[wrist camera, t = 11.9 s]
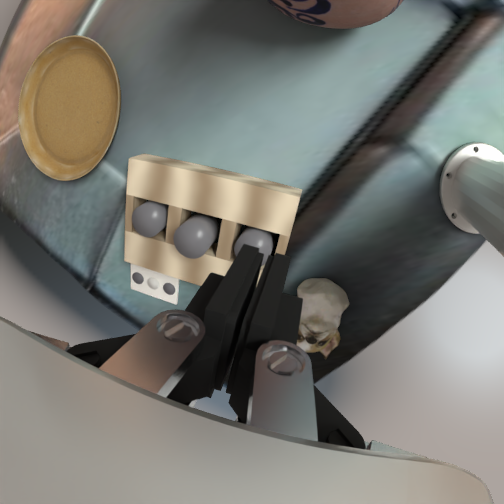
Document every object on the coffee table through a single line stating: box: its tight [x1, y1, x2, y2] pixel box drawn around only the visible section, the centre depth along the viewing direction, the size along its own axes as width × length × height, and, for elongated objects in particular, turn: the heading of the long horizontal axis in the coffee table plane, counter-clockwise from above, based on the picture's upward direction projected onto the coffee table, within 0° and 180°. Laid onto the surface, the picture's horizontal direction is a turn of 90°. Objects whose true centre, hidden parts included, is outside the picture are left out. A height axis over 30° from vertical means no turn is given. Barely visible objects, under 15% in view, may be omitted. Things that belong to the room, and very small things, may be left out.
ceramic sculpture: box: [297, 278, 349, 359], centre depth 44 cm, size 11×9×15 cm
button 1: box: [132, 200, 169, 237], centre depth 44 cm, size 5×5×5 cm
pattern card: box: [131, 263, 180, 305], centre depth 52 cm, size 9×6×1 cm, turn 79°
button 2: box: [234, 225, 276, 266], centre depth 42 cm, size 5×5×5 cm
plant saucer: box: [18, 35, 121, 181], centre depth 41 cm, size 24×24×3 cm
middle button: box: [173, 213, 220, 259], centre depth 41 cm, size 5×5×5 cm
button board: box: [125, 154, 302, 286], centre depth 44 cm, size 23×16×4 cm
